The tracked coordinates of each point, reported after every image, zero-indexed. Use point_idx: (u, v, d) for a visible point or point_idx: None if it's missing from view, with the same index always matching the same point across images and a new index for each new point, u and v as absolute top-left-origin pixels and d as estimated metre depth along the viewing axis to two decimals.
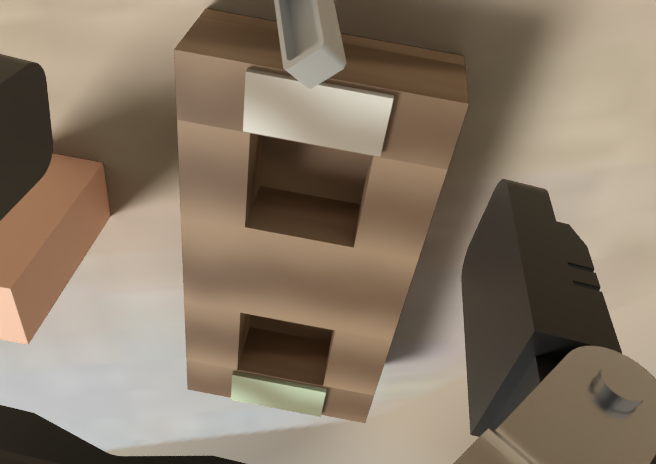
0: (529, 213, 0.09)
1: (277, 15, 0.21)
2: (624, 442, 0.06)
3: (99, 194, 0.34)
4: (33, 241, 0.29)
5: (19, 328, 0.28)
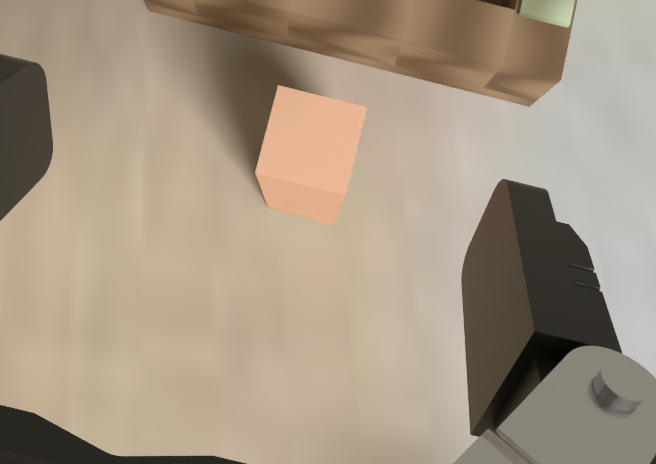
0: (529, 213, 0.09)
1: None
2: (624, 442, 0.06)
3: None
4: None
5: (340, 105, 0.26)
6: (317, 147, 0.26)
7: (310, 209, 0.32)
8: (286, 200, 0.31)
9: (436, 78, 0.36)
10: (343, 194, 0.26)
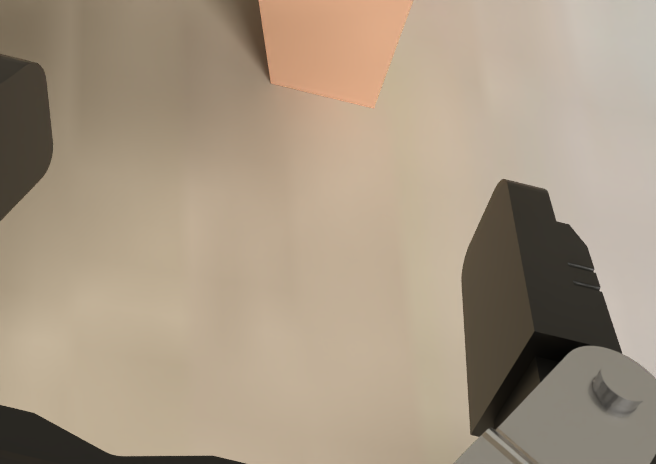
0: (529, 213, 0.09)
1: None
2: (624, 442, 0.06)
3: None
4: None
5: None
6: None
7: (342, 63, 0.19)
8: (302, 39, 0.18)
9: None
10: None
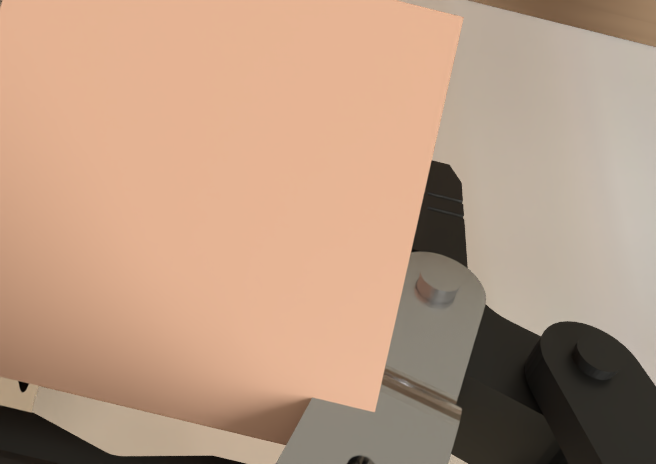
0: None
1: None
2: (429, 323, 0.07)
3: None
4: None
5: (335, 8, 0.05)
6: (221, 214, 0.05)
7: None
8: None
9: (562, 9, 0.15)
10: None
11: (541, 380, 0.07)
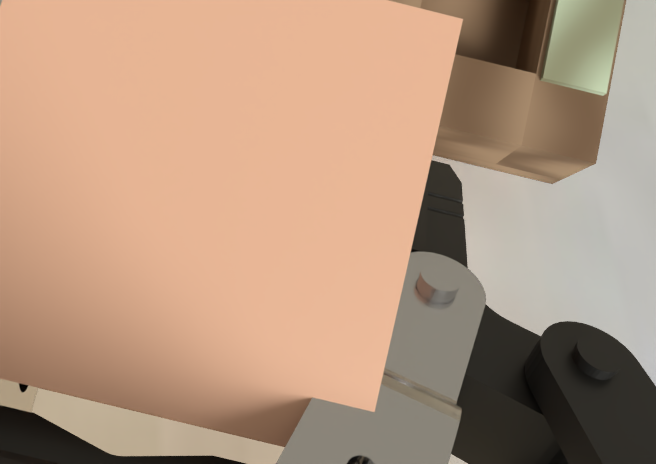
0: None
1: None
2: (429, 323, 0.07)
3: None
4: None
5: (335, 10, 0.05)
6: (220, 216, 0.05)
7: None
8: None
9: (437, 152, 0.29)
10: None
11: (541, 380, 0.07)
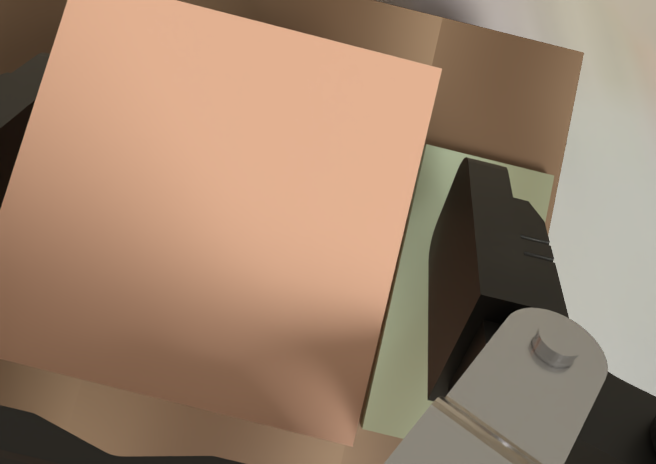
0: (487, 188, 0.09)
1: None
2: (556, 393, 0.06)
3: None
4: None
5: (332, 60, 0.06)
6: (235, 235, 0.06)
7: None
8: None
9: None
10: (342, 441, 0.06)
11: None
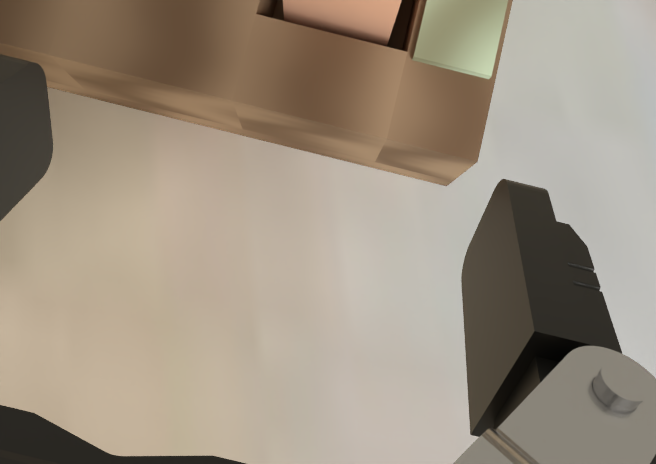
0: (529, 213, 0.09)
1: None
2: (624, 442, 0.06)
3: None
4: None
5: None
6: None
7: (352, 19, 0.21)
8: None
9: (307, 147, 0.25)
10: None
11: None
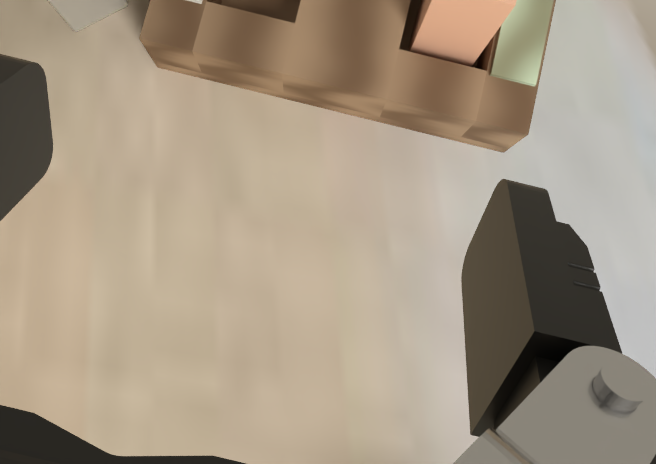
0: (529, 213, 0.09)
1: None
2: (624, 442, 0.06)
3: None
4: None
5: None
6: None
7: (454, 52, 0.36)
8: (437, 39, 0.35)
9: (418, 128, 0.40)
10: (513, 5, 0.30)
11: None
